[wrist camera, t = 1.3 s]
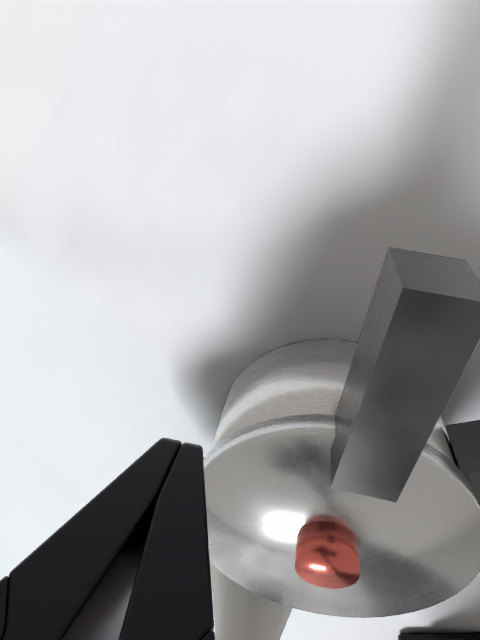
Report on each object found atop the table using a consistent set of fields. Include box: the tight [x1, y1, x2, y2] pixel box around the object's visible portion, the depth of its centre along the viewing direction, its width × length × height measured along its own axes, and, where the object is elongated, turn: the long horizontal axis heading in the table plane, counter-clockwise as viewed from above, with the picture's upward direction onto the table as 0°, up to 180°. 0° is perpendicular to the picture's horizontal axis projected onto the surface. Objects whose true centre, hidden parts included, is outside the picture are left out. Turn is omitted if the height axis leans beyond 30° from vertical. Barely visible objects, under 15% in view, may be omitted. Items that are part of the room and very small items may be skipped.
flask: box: [210, 562, 292, 640], centre depth 24 cm, size 7×7×10 cm
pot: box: [203, 339, 480, 506], centre depth 19 cm, size 20×11×5 cm, turn 114°
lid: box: [203, 247, 480, 618], centre depth 15 cm, size 18×12×2 cm, turn 175°
